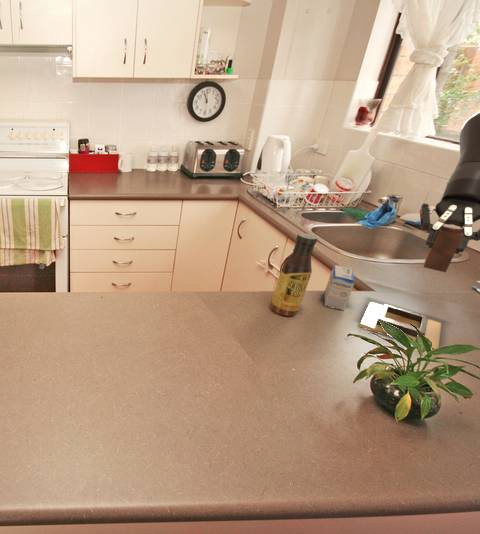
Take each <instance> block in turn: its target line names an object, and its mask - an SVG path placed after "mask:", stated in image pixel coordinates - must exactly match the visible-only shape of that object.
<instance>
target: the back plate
mask: <svg viewBox="0 0 480 534" xmlns="http://www.w3.org/2000/svg"><path fill="white" fill-rule="evenodd" d="M378 320H382V321H384V322H387V323H389V324H391V325H393V326H395V327H397V328H399V329H401V330H402V331H403V332H404V333H406V334H407V335H408V336H409V337H410V338H412V339H413V340H415V339H416V338H417V335H418V333H417V331H416V330H415V329H414V328H413V327H412V326H411V325H410V323H411V324H412V325H414V326H416V327H417V329H418V330H419V331H420V332H421V333H422V334H423V335H424V336H425V337H426V338H428V339H429V340H430V341H431V342H432V350H434V349H436V348H438V349H439V347H440V339H441V331H442V323H441V322H439V321H435V320H432V319H429V316H426V315H423V314H420V313H416V312H413V311H409V310H407V309H403V308H400V307H396V306H393V305H390V304H387V303H383V305H382V304H379V303H376V302H372V301H370V302H369V304H368V305H367V308H366V310H365V312H364V314H363V316H362V318H361V320H360V323H359V325H358V328H360V327H363V328H367V329H370V330H373V331H375V332H380V333H382V334H384V335H385V336H384V335H383V336H384V337H387V336H388V337H387V338H390V339H393V338H392V337H390V336H389V335H387V333H386V332H385V331H384V330H383V328H382V326H381V324H380V322H379V321H378ZM363 328H362V329H363ZM375 332H374V333H375Z"/></svg>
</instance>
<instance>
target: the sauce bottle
mask: <svg viewBox="0 0 480 534" xmlns="http://www.w3.org/2000/svg"><path fill="white" fill-rule="evenodd" d="M295 240H296V242H295V245H294V247H293V250H292V253H290V254H289V255H288V256H287V257H286V258H285V259H284V261H283V264H282V267H281V269H280V271H279V276H278V279H277V281H276V285H275V287H274V291H273V294H272V298H271V303H270V309H271V311H273V312H274V313H275V314H278V315H280V316H283V317H294V316H296V314H297V313H298V311H299V310H300V308H301V305H302V301H303V299H304V296H305V293H306V291H307V288H308V284H309V282H310V280H311V276H312V273H313V271H312V256H313V255H312V254H313V251H314V248H315V245H316V244H317V242H318V236H316V235H314V234H311V233H308V232H307V233H306V232H298V233H297V236H296V237H295Z"/></svg>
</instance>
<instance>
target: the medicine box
mask: <svg viewBox="0 0 480 534" xmlns="http://www.w3.org/2000/svg"><path fill="white" fill-rule="evenodd" d="M355 283H356V282H355V275H354V269H353V268H350V267H346V266H341V265H336V264H335V265H333V267H332V270H331V273H330V275H329V278H328V281H327V284H326V286H325V289H324V292H323V306H324V305H326V306H330V307H334V308H337V309H336V310H338V309H341V310H340V311H345V308H346V306H347V304H348V301H349V299H350V297H351V294H352V290H353V288H354V285H355ZM326 306H325V307H326ZM330 307H329V308H330ZM334 308H333V309H334Z"/></svg>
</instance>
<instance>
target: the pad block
mask: <svg viewBox="0 0 480 534" xmlns="http://www.w3.org/2000/svg"><path fill="white" fill-rule="evenodd" d="M463 232H464V230H461V229H460V228H455V227H451V226H450V227H449V226H445V225H444V226H441V227H440V228H439V232H438V234H437V237H436V239H435V242H434V245H433V246H432V248H429V251H428V253H427V255H426V258H425V259H424V263H423V268H425V269H429V270H433V271H437V272H438V271H439V272H442V273H447V271H448V269H449V266H450V265H451V262H452V260H453V258H454V256H455V255H456V254H455V252H456V249H457V248H458V246H459V244H460V241H461V239H462V237H463Z"/></svg>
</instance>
